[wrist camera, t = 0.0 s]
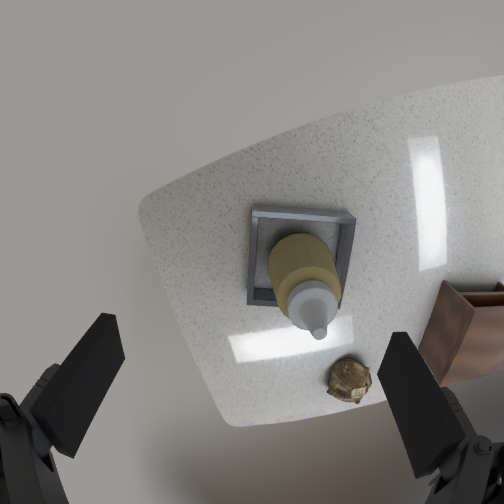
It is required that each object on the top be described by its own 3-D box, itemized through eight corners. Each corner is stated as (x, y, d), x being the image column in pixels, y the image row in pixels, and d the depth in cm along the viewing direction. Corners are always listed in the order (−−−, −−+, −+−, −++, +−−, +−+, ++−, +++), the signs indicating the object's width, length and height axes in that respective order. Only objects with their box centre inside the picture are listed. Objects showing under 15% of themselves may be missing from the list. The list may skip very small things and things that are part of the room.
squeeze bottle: (269, 222, 38) (274, 287, 21) (330, 227, 38) (377, 291, 21) (265, 279, 41) (265, 369, 24) (322, 282, 41) (354, 369, 24)
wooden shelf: (442, 280, 40) (475, 311, 31) (500, 281, 40) (531, 307, 31) (417, 349, 45) (439, 386, 36) (475, 343, 45) (499, 372, 36)
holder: (252, 204, 37) (252, 210, 34) (348, 212, 37) (356, 218, 34) (247, 292, 42) (246, 305, 39) (334, 296, 42) (339, 309, 38)
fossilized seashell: (360, 403, 47) (382, 360, 45) (352, 422, 41) (378, 376, 39) (325, 389, 50) (344, 345, 49) (313, 405, 45) (335, 358, 43)
